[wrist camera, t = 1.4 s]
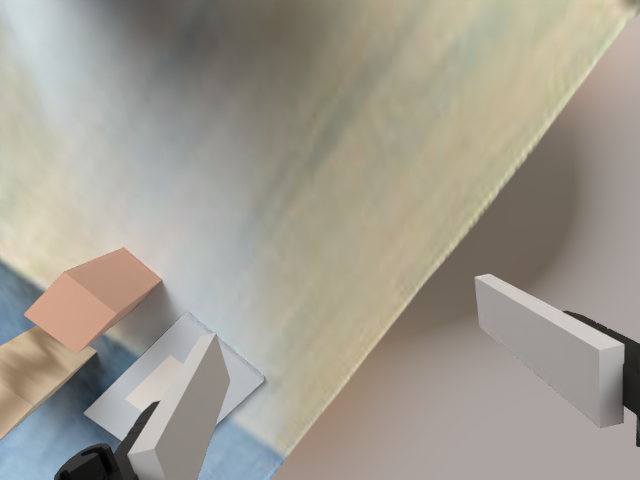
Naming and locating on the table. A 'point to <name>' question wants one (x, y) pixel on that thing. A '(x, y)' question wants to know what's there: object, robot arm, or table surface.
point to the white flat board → (167, 378)
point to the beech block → (33, 374)
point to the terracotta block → (92, 298)
